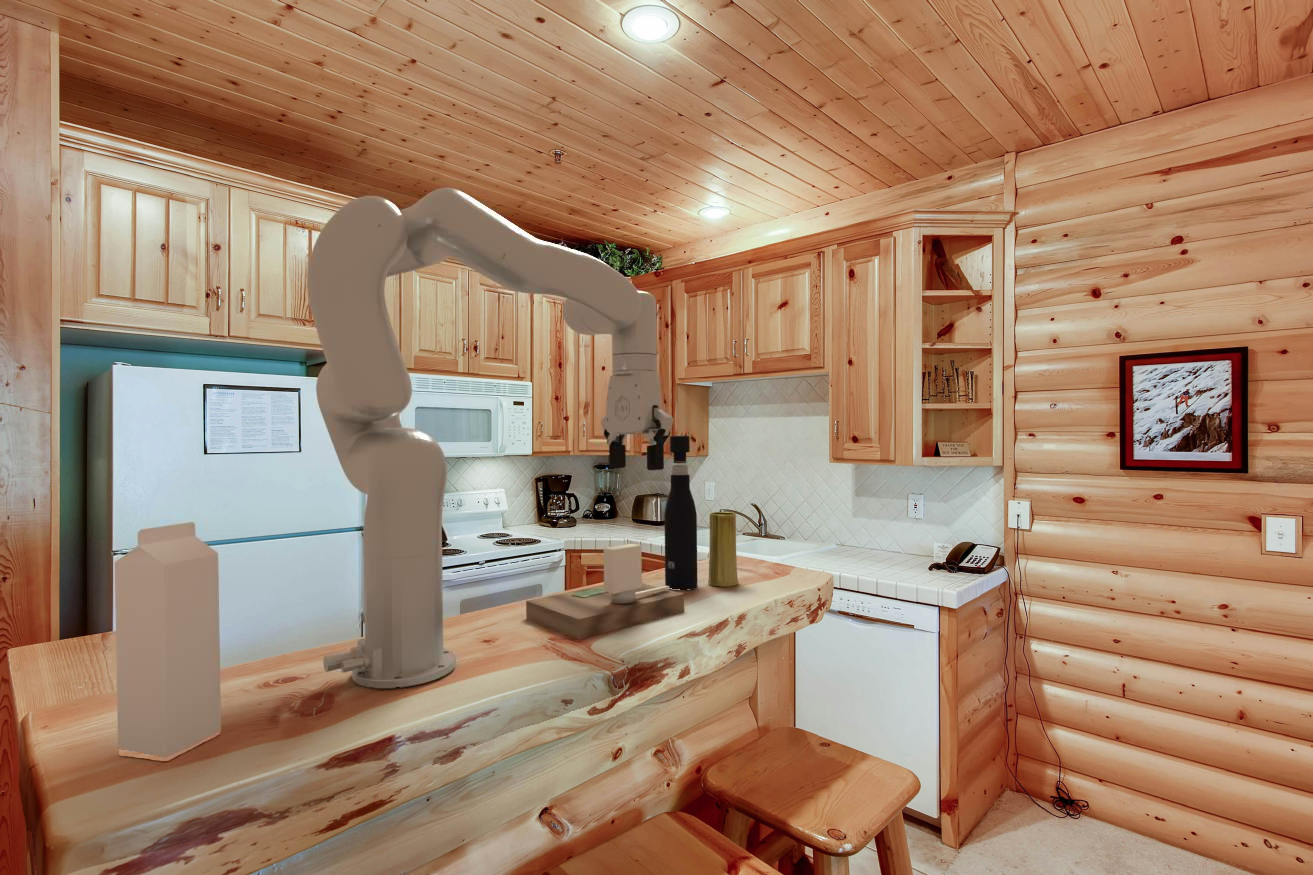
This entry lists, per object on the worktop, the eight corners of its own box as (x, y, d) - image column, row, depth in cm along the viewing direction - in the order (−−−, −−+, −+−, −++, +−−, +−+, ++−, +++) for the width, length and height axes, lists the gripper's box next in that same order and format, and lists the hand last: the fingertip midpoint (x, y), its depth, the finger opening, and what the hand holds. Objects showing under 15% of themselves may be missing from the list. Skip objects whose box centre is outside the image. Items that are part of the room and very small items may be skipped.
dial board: (579, 639, 98) (578, 617, 98) (526, 618, 109) (526, 599, 109) (684, 611, 112) (684, 592, 112) (628, 595, 124) (628, 578, 124)
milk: (221, 735, 68) (220, 522, 68) (165, 763, 62) (164, 530, 62) (174, 729, 69) (173, 520, 69) (115, 756, 63) (113, 528, 63)
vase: (723, 578, 137) (722, 510, 137) (744, 583, 132) (744, 513, 132) (702, 583, 133) (701, 513, 133) (723, 588, 128) (722, 515, 128)
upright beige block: (616, 605, 104) (615, 550, 104) (601, 601, 107) (600, 547, 107) (675, 591, 112) (675, 540, 112) (660, 588, 115) (659, 538, 115)
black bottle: (698, 583, 133) (696, 435, 133) (696, 590, 127) (695, 435, 126) (666, 582, 134) (664, 436, 133) (663, 590, 127) (662, 436, 127)
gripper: (585, 369, 114) (587, 468, 114) (652, 361, 101) (654, 471, 101) (619, 372, 119) (620, 466, 119) (687, 364, 106) (688, 469, 106)
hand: (635, 468), depth 110 cm, fingers open, 9 cm apart
